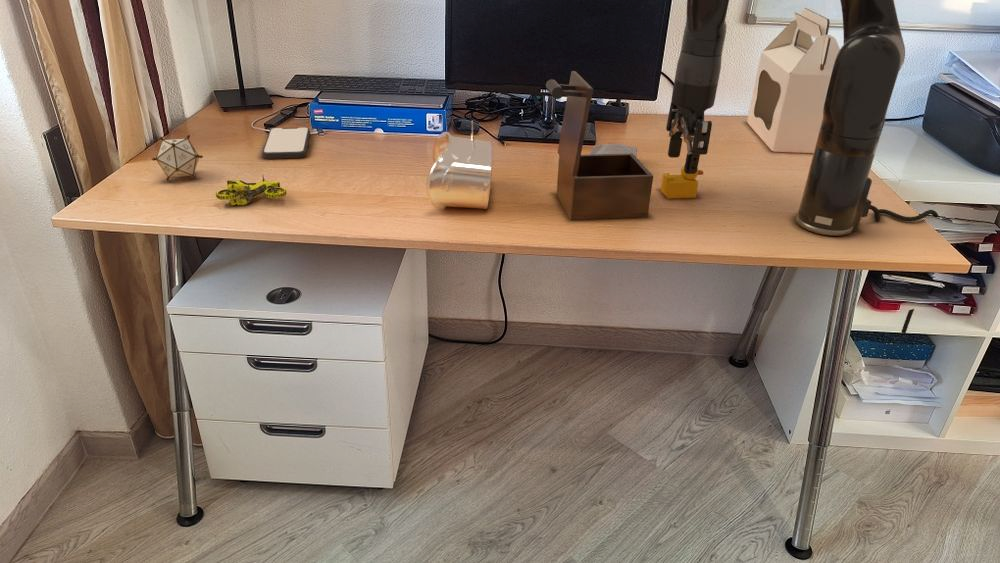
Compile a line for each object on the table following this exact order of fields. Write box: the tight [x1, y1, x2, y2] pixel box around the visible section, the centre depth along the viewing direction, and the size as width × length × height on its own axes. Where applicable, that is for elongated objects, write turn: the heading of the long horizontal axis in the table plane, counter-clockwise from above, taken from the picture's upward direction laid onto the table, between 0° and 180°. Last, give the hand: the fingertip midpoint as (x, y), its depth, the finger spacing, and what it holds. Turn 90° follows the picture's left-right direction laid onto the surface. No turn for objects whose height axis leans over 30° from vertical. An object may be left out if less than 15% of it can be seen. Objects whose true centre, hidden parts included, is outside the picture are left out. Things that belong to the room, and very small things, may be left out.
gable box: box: [746, 7, 841, 154], centre depth 163 cm, size 22×13×28 cm, turn 178°
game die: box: [151, 134, 204, 182], centre depth 135 cm, size 9×8×10 cm
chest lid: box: [545, 70, 594, 176], centre depth 122 cm, size 15×12×6 cm
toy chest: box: [556, 153, 654, 221], centre depth 129 cm, size 14×12×8 cm
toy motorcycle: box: [215, 174, 288, 206], centre depth 128 cm, size 12×4×7 cm
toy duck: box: [660, 164, 704, 199], centre depth 136 cm, size 7×4×6 cm, turn 99°
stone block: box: [588, 142, 638, 158], centre depth 148 cm, size 12×5×10 cm
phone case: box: [261, 126, 311, 160], centre depth 154 cm, size 9×2×16 cm
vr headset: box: [425, 120, 494, 210], centre depth 130 cm, size 18×11×14 cm, turn 1°
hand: (681, 164), depth 135 cm, fingers open, 8 cm apart
